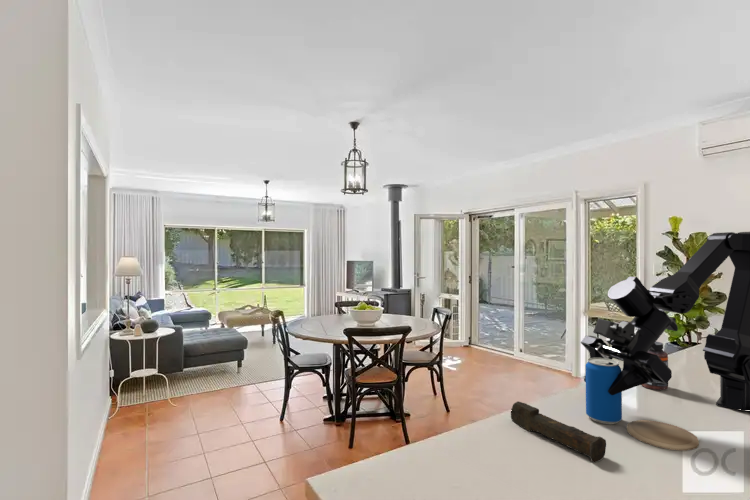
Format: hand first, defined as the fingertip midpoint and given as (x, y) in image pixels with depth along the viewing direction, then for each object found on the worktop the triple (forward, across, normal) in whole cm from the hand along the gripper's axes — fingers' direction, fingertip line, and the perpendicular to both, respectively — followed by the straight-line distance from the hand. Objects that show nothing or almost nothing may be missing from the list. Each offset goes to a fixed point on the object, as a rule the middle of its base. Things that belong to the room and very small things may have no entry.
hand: (597, 387), depth 83 cm
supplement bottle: (-15, -14, +25) cm, 32 cm away
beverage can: (+4, 0, +6) cm, 7 cm away
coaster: (0, +9, +9) cm, 13 cm away
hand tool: (+15, +5, -5) cm, 17 cm away
